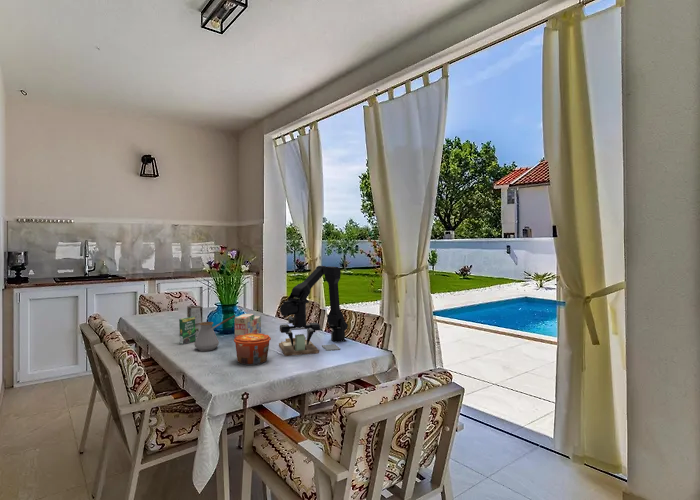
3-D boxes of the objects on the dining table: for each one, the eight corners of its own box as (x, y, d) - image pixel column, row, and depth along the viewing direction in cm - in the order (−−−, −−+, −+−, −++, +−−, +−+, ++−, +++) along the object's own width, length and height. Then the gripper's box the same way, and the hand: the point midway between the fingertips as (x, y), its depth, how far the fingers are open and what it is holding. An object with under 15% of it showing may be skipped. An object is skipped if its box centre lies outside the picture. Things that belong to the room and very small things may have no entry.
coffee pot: (199, 353, 202) (199, 321, 202) (190, 348, 211) (190, 318, 210) (241, 346, 216) (241, 316, 216) (231, 341, 225) (231, 313, 224)
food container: (276, 357, 196) (276, 333, 196) (261, 367, 181) (261, 342, 181) (244, 354, 200) (244, 332, 200) (227, 364, 185) (227, 340, 184)
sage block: (303, 350, 208) (303, 334, 208) (304, 352, 204) (304, 335, 204) (295, 351, 207) (295, 334, 206) (296, 353, 203) (296, 336, 202)
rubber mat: (335, 345, 217) (335, 344, 217) (340, 349, 209) (340, 348, 209) (321, 346, 215) (321, 345, 215) (326, 350, 207) (326, 349, 207)
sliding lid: (308, 341, 220) (308, 336, 220) (312, 345, 211) (312, 340, 211) (281, 343, 215) (281, 338, 215) (284, 347, 207) (284, 342, 207)
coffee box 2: (182, 344, 218) (182, 319, 218) (179, 344, 220) (178, 318, 219) (196, 341, 225) (195, 316, 225) (192, 340, 226) (192, 316, 226)
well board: (309, 343, 221) (309, 340, 221) (318, 353, 203) (318, 349, 203) (278, 346, 216) (278, 343, 216) (285, 355, 198) (285, 352, 198)
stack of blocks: (251, 331, 249) (250, 310, 249) (261, 332, 248) (261, 311, 248) (234, 340, 228) (234, 317, 228) (245, 341, 227) (245, 317, 227)
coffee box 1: (203, 336, 237) (202, 307, 237) (191, 337, 234) (190, 308, 233) (198, 333, 245) (198, 304, 245) (186, 334, 241) (186, 306, 241)
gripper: (315, 309, 215) (315, 340, 216) (277, 311, 209) (277, 343, 210) (320, 313, 205) (320, 345, 205) (281, 315, 199) (281, 348, 199)
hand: (300, 345), depth 205 cm, fingers open, 7 cm apart
